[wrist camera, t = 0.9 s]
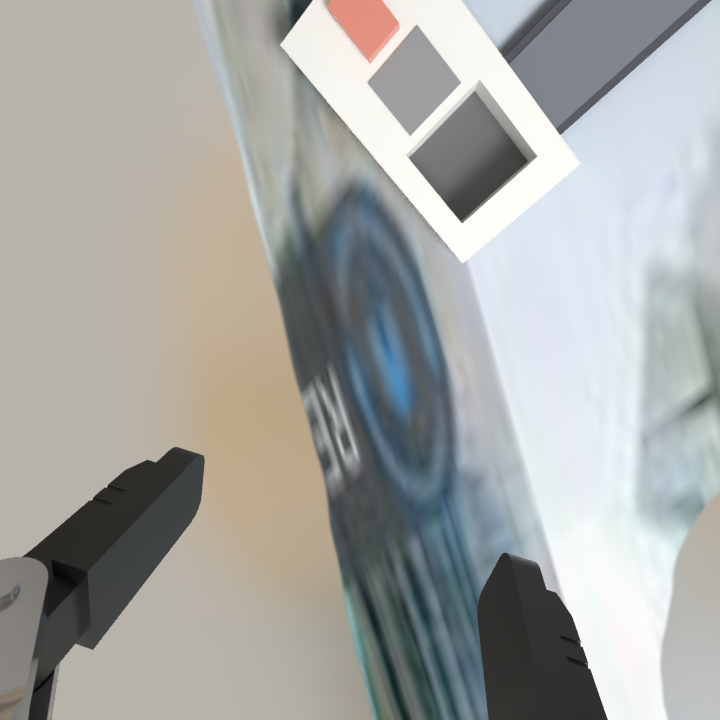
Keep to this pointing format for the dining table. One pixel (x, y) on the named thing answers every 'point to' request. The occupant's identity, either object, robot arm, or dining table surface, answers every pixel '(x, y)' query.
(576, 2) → the phone
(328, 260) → the dining table surface
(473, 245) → the power strip
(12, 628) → the robot arm
